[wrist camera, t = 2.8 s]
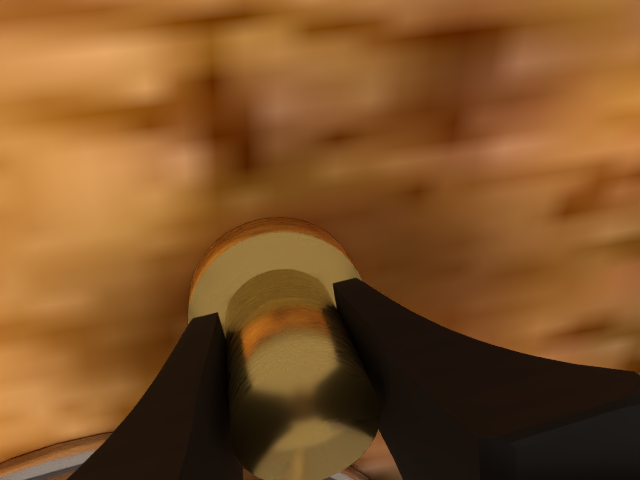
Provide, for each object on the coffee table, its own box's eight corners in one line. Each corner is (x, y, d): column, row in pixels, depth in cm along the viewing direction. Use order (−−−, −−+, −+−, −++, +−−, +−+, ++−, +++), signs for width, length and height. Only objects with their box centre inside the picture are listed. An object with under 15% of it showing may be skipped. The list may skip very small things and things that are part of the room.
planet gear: (342, 200, 13) (416, 290, 8) (363, 341, 14) (432, 477, 10) (168, 240, 12) (142, 361, 7) (213, 381, 14) (214, 545, 9)
